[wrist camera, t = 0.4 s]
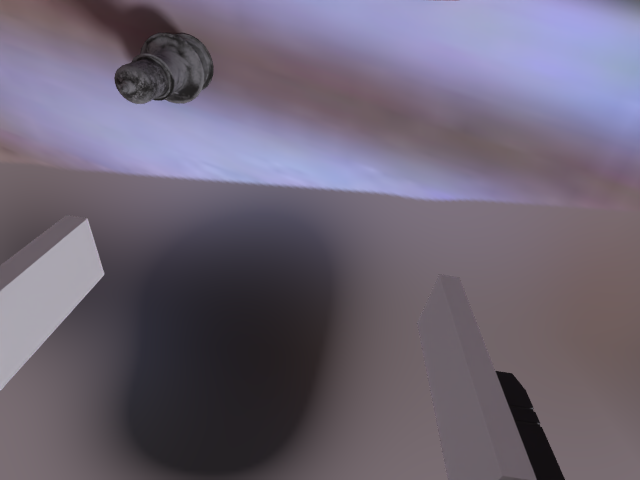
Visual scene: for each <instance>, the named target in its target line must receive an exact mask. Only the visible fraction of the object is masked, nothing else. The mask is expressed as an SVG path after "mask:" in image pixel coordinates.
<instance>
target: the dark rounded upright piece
mask: <svg viewBox="0 0 640 480" xmlns="http://www.w3.org/2000/svg"><path fill="white" fill-rule="evenodd" d="M212 76H213V62H212V58H211V56H210V54H209V52H208V50H207V49H206V47H205V46H204V45H203V44H202V43H201V42H200V41H199V40H198V39H196V38H195V37H193V36H191V35H187V34H175V35H174V34H170V33H158V34H155V35H153V36H151V37H149V38H148V39H147V40H146V41H145V43H144V45H143V46H142V48H141V53H140V55H137V56H136V57H135V58H134V59H133V60H132V62H131V63H129V64H125V65H123V66H121V67H120V68H119V69H118V70H117V71H116V73H115V84H116V87H117V89H118V91H119V92H120V94H121V95H122V96H123V97H124V98H125V99H127V100H128V101H130V102H132V103H136V104H144V103H147V102H149V101H151V100H164V99H165V100H167V101H169V102H173V103H187V102H190V101H192V100H193V99H195V98H196V97H197V96H198V95H199V93H200V92H201V91H202V90H203V89H205V88H206V87H207V86H208V85H209V83H210V82H211V80H212Z"/></svg>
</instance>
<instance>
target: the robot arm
mask: <svg viewBox="0 0 640 480" xmlns="http://www.w3.org/2000/svg"><path fill="white" fill-rule="evenodd" d="M103 275H104V272H103V268H102V265H101V262H100V259H99V255H98V252H97V248H96V245H95V242H94V238H93V235H92V232H91V228H90V225H89V222H88V219H87V218H81V217H75V216H69V215H66V216H65V217H63V218H62V219H61V220H60V221H58V222H57V223H56V224H54V225H53V226H52V227H50V228H49V229H48V230H46V231H45V232H44V233H43V234H41V235H40V236H38V237H37V238H36V239H35V240H33V241H32V242H31V243H29V244H28V245H27V246H25V247H24V248H23V249H22V250H20V251H19V252H17V253H16V254H15V255H13V256H12V257H11V258H10V259H8V260H7V261H6V262H4V263H3V264H2V265H0V390H1V389H2V388H3V387H4V386H5V385H6V384H7V383H8V382H9V380H10V379H11V378H12V377H13V376H14V375H15V374H16V372H18V370H19V369H20V368H21V367H22V366H23V365H24V364H25V363H26V361H27V360H28V359H29V358H30V357H31V356H32V355H33V354H34V353H35V351H36V350H37V349H38V348H39V347H40V346H41V345H42V344H43V342H44V341H45V340H46V339H47V338H48V337H49V336H50V335H51V334H52V332H53V331H54V330H55V329H56V328H57V327H58V326H59V325H60V323H61V322H62V321H63V320H64V319H65V318H66V316H68V315H69V314H70V312H71V311H72V310H73V309H74V308H75V307H76V306H77V305H78V303H79V302H80V301H81V300H82V299H83V298H84V297H85V296H86V295H87V293H88V292H89V291H90V290H91V289H92V288H93V287H94V286H95V284H96V283H97V282H98V281H99V280H100V279H101V278H102V276H103ZM417 324H418V330H419V335H420V340H421V345H422V350H423V355H424V360H425V366H426V371H427V376H428V381H429V386H430V391H431V396H432V401H433V406H434V411H435V416H436V421H437V426H438V431H439V436H440V441H441V446H442V452H443V456H444V462H445V467H446V472H447V477H448V480H565V479H564V477H563V474H562V472H561V470H560V467H559V465H558V463H557V460H556V458H555V456H554V454H553V451H552V449H551V447H550V445H549V442H548V440H547V438H546V436H545V433H544V431H543V429H542V427H540V422H539V420H538V417H537V415H536V413H535V412H534V411H533V406H532V404H531V401H530V399H529V397H528V395H527V392H526V390H525V389H524V388H523V387H522V385H521V384H520V383H519V381H518V380H517V379H516V378H515V377H514V375H513V374H512V373H506V372H499V371H495V369H494V366H493V364H492V361H491V358H490V356H489V353H488V351H487V348H486V345H485V343H484V340H483V337H482V335H481V332H480V330H479V327H478V324H477V322H476V319H475V316H474V314H473V312H472V309H471V306H470V304H469V301H468V298H467V295H466V293H465V290H464V288H463V285H462V283H461V280H460V278H459V277H454V276H448V275H442V274H440V275H439V276H438V278H437V281H436V283H435V285H434V287H433V289H432V292H431V294H430V296H429V298H428V301H427V303H426V305H425V307H424V309H423V312H422V314H421V316H420V318H419V320H418V323H417Z"/></svg>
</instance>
